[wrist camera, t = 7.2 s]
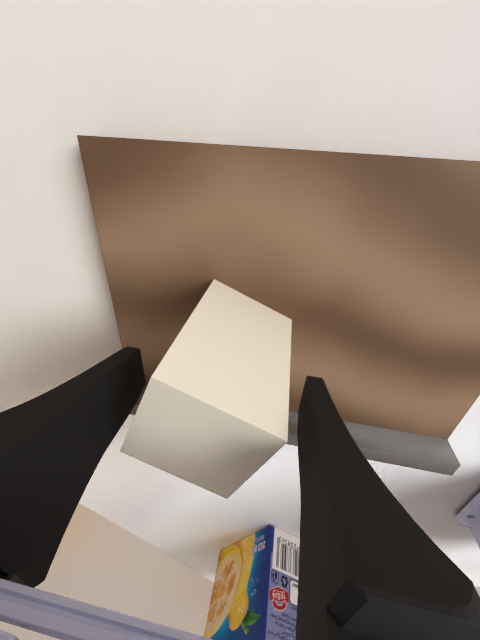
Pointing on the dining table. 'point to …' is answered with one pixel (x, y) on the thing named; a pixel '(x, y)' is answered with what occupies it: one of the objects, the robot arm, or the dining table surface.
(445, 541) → the dining table surface
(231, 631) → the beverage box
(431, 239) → the shelf board
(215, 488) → the carton
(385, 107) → the dining table surface
